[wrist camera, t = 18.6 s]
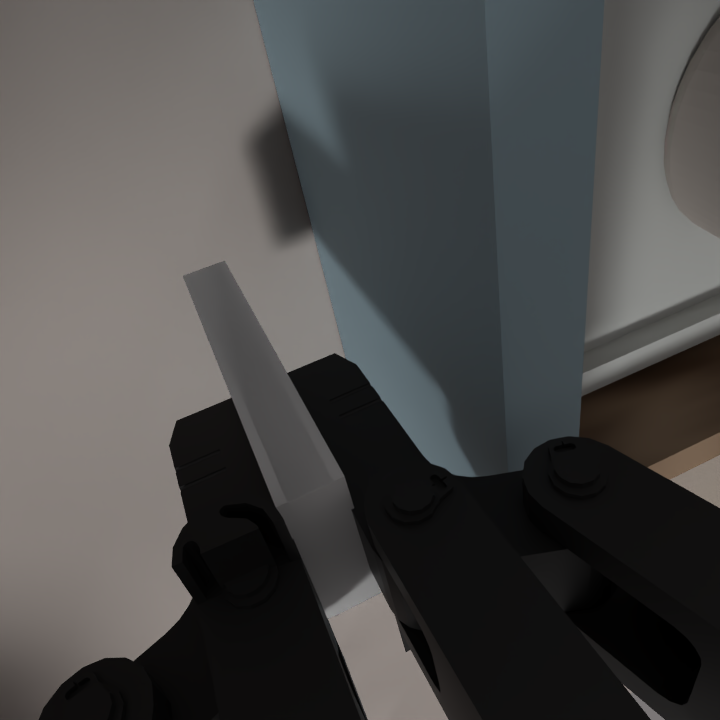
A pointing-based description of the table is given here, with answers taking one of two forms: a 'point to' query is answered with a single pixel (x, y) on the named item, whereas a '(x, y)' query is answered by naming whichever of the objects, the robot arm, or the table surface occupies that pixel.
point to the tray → (495, 204)
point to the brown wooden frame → (661, 411)
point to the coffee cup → (697, 137)
